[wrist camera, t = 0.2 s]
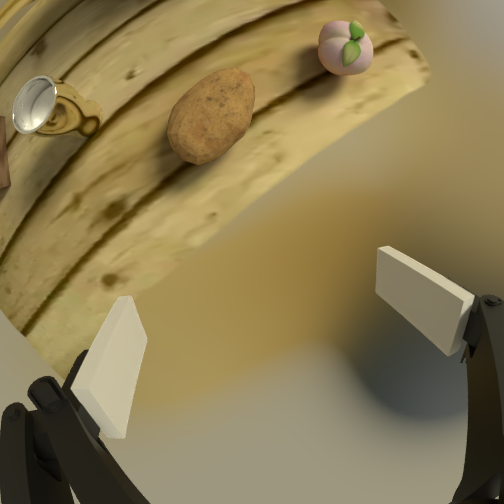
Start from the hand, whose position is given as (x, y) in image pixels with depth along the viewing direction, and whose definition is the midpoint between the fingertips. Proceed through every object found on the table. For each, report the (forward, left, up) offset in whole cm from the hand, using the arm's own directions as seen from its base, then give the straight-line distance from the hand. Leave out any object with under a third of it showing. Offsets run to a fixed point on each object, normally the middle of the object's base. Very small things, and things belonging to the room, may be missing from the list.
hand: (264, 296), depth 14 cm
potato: (-13, 0, -28) cm, 31 cm away
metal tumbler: (-18, -19, -28) cm, 38 cm away
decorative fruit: (-22, +20, -28) cm, 41 cm away
